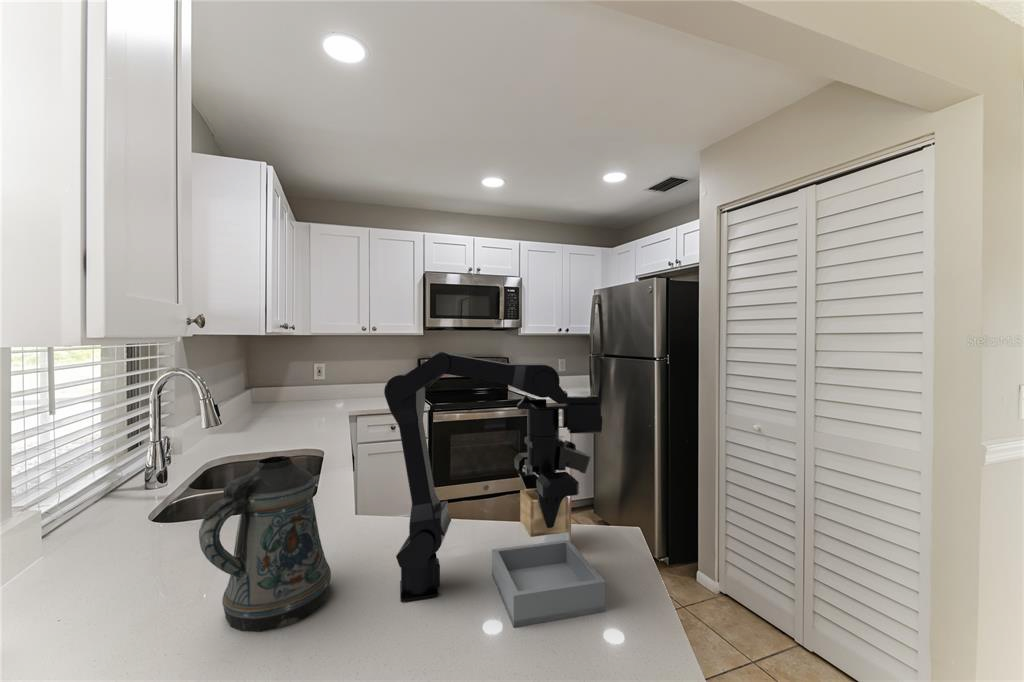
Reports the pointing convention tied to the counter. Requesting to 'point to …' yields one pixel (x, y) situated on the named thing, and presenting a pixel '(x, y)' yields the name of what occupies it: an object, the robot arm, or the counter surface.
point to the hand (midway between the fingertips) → (543, 519)
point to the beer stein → (269, 547)
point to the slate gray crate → (546, 582)
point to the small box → (561, 535)
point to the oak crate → (534, 518)
